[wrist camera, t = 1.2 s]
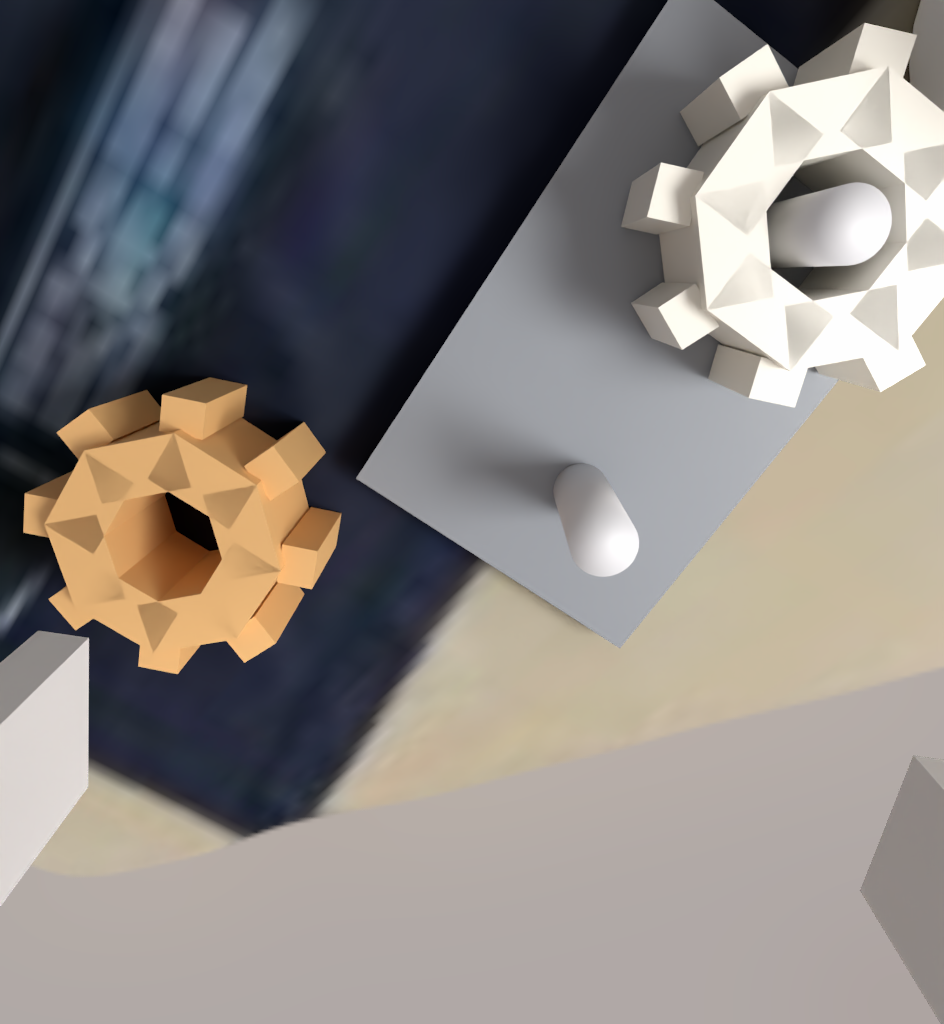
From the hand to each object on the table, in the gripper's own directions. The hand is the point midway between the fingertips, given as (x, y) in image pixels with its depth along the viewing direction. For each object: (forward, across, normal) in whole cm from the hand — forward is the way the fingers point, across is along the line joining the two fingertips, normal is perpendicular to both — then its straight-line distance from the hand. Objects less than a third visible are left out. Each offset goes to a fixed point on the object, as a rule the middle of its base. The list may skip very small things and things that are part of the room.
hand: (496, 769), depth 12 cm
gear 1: (+18, -10, -3) cm, 21 cm away
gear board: (+18, +5, +5) cm, 20 cm away
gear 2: (+17, +8, +10) cm, 21 cm away
